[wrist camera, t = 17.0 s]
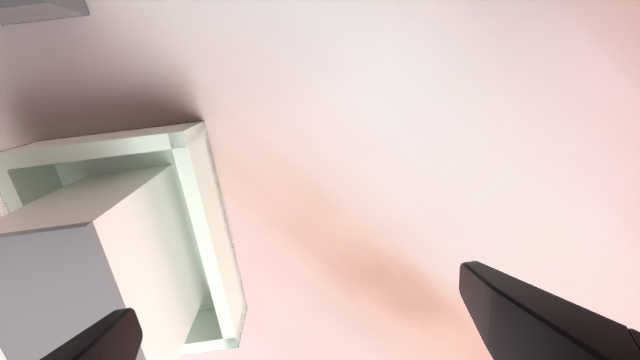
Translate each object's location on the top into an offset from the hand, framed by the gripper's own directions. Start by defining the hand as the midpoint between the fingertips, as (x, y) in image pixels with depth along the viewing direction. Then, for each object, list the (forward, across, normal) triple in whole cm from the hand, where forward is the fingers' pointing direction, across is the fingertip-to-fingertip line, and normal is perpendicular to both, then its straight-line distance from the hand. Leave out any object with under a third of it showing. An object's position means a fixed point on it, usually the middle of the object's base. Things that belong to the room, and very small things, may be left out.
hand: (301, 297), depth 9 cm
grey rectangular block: (+11, +10, +3) cm, 15 cm away
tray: (+12, +10, +3) cm, 16 cm away
